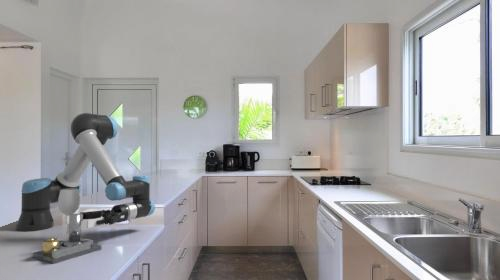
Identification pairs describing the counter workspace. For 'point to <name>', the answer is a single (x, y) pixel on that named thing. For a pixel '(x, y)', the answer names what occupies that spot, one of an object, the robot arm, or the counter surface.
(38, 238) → the counter surface
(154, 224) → the counter surface
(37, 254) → the carrier plate
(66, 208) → the wineglass
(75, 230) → the flanged metal post
